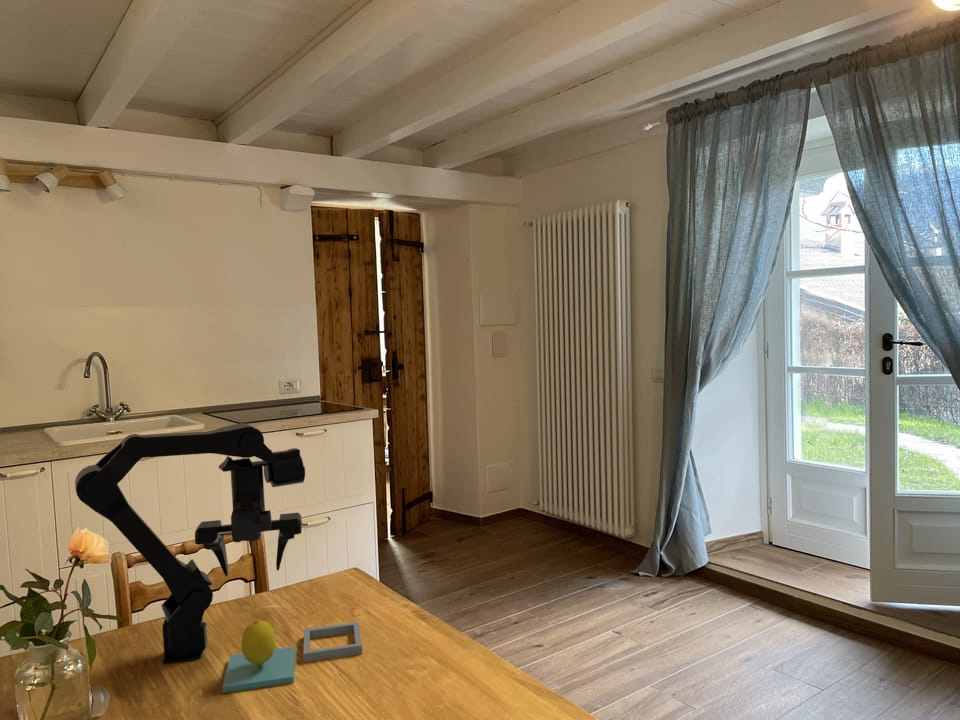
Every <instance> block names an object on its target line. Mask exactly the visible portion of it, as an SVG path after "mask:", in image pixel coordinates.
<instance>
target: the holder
mask: <svg viewBox="0 0 960 720" xmlns="http://www.w3.org/2000/svg"><path fill="white" fill-rule="evenodd" d="M303 631H304V633H303V663H307V662H308V663H309V662H316V661H321V660H329V659H335V658H342V657H349V656H350V657H351V656H357V655H363V644H362V637H361V630H360V624H359V621H355V622H349V623H341V624H335V625H334V624H333V625H326V626H319V627H318V626H317V627H312V628H304V630H303ZM347 634H353V637H354V643H352V644H347V645H346V644H344V645H338V646H331V647H323V648H317V649H311V639H317V638H324V637H330V636H332V637H333V636H339V635H347Z"/></svg>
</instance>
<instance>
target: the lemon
mask: <svg viewBox="0 0 960 720" xmlns="http://www.w3.org/2000/svg"><path fill="white" fill-rule="evenodd" d="M276 647H277V639H276V633H275V630H274V628H273V626H272V625H271V624H270V623H269V622H267V621H265V620H261V619H259V618H258V619H255V620H254V621H253V622H251V623H249V624H248V625H247V626H246V628H245V629H244V631H243V634H242V637H241V652H242V654H243V655H244V657H245V658H246V660H247V661H249V662H250V663H253V664H257V665H258V666H262V665H263V664H264V662H266V661H268V660H269V659H270V658H271V657H272V655H273V653H274V651H275V649H276Z"/></svg>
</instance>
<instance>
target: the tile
mask: <svg viewBox="0 0 960 720" xmlns="http://www.w3.org/2000/svg"><path fill="white" fill-rule="evenodd" d="M296 651H297V649H296V645H295V646H289V647H288V646H287V647H281V648H280V647H279V648H275V651H274V653H273V655H272V657H271V658H270V659H269V660H268V661H266V662H264V664H263V665H262V666H258V665H257V664H253V663H250V662H249V661H247V660H246V658H245V657H244V655H243V653H238V654H231V655H230V656H229V660H228V664H227V668H226V672H225V675H224V679H223V682H222V683H223V684H222V686H221V687H222V694H227V693H233V692H239V691H246V690H254V689H258V688H259V689H260V688H267V687H272V686H280V685H286V684H294V683H295V672H296V671H295V670H296V669H295V668H296V656H297V655H296Z"/></svg>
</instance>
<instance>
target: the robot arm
mask: <svg viewBox="0 0 960 720" xmlns="http://www.w3.org/2000/svg"><path fill="white" fill-rule="evenodd" d="M205 454H214V455H215V454H216V455H220V456H221V455H222V456H226V457H225V459H224V461H223V462H221V463H220V464H219V465H218V469H219V470H221V471H222V472H223V473H224V472H225V473H226V472H230V483H231V484H230V486H231V498H232V499H231V501H232V511H231V516H230V523H229V524H223V525H222V520H221V519H218V520H207V521H206V520H205V521H201V522H200V523H199V524H198V525H197V527H196V529H195V531H194V544H195V545H203V548H204V549H209V550H211V551H212V553H213V554H214V555H215V557H216V559H217V560H218V563H219V566H220V567H221V569H222V572H223V574H224V576H225V577H228V576H229V562H228V555H227V549H226V541H225V536H232V537H231V539H232V542H233V543H242V542H244V541H245V542H248V541H251V542H256V541H258V540H260V539H261V536H262V533H265V532H271V531H278V535H277V536H278V537H277V547H276V549H277V551H276V563H275V564H276V566H275V567H276V571H280V567H281V563H282V559H283V556H284V552H285V549H286V546H287V544H288V542H289V540H293V539H295V536H296V535H300V534H302V527H303V526H302V525H303V521H302V514H300V512H291V513H280V515H279V518H278V519H274V520H273V519H272V513H271V510H270V509H269V510H266V504H265V503H266V502H265V489H264V488H265V487H264V480H265V482H266V484H270V485H271V487H272V488H278V487H283V486H289V485H290V486H291V485H296V484H297V485H298V484H302V483H304V482H305V478H306V467H305V466H304V461H303V458H302V456H301V450H300V449H298V448H297V447H296V448H295V447H293V448H290V449H287V450H286V449H285V450H280V451H273V450H272V449H270V448H269V447H268V446H267V445H266V443H265V438H264V435H263V433H262V431H261V430H260V429H258V428H257V427H255V426H252V425H251V424H248V423H235V424H231V425H226V426H222V427H220V428H217V429H216V428H215V429H211V430H208V431H194V432H193V431H192V432H189V431H188V432H175V433H174V432H173V433H171V432H170V433H155V434H154V433H153V434H140V433H139V434H138V433H133V434H129V435H127V436H125V437H124V438H123V439H122V441H121V442H119V443H118V445H117V446H115V447H114V448H113V449H112V450H110V451H109V452H108V453H107V454H105V455H104V456H102V458H101V459H99V460H98V462H96V463H95V464H91V465H87V466H86V467H84V468H82V469H81V470H80V471H79V472H78V473H77V475H76V477H75V480H74V485H75V493H76V496H77V498H78V500H80V501H81V502H82V504H85V505H86V506H87V507H89V509H91V510H93V511H94V512H95V513H97V514H98V515H100V516H102V517H103V518H105V519H106V520H108V521H110V522H111V523H112V524H113V525H114V527H116V529H117V530H119V532H120V533H121V534H122V535H123V536H124V537H125V539H126V540H128V541H129V543H130V544H131V545H132V546H133V547H134V548H135V549H136V550H137V551H138V553H140V554H141V556H142V557H143V558H144V559H145V561H146V562H147V563H148V564H149V565H151V567H152V568H153V569H154V570H155V571H156V572H157V573H158V575H159V576H160V577H161V578H162V579H163V581H164V583H165V585H166V586H167V588H168V590H169V591H170V593H171V594H170V595H168V597H167V598H166V599H165V601H163V603H162V604H161V609H162V611H163V614H164V617H165V620H164V621H163V624H162V641H163V642H162V643H163V657H162V658H161V663H162V664H168V663H169V664H170V663H175V662H182V661H183V662H184V661H191V660H198V659H201V658H202V656H203V653H204V651H206V649H207V645H208V629H207V622H205V621H204V620H203V617H204V614H205V611H206V610H208V608H209V607H210V606H211V604H212V603H213V598H214V593H213V590H212V589H211V587H210V586H212V585H213V584H212V581H211V580H210V578H209V577H208V575H207V574H206V572H204V571H202V570H201V569H199V567H198V566H197V564H196V562H195V560H194V559H193V558H191V559H190V561H188V563H187V564H186V563H185V562H183V561H181V560H180V559H178V557H177V556H176V555H175V554H174V553H173V552H172V551H171V550H170V548H169V547H168V546H167V545H166V544H165V543H164V542H163V541H162V539H160V537H159V536H158V535H157V534H156V533H155V532H154V531H153V529H152V528H151V527H150V526H149V525H148V523H146V522H145V520H144V519H143V518H142V516H140V515H139V513H137V511H136V510H135V509H134V507H132V506H131V504H130V503H129V502H128V500H127V499H126V496H125V494H124V492H123V491H122V490H121V488H120V486H119V485H118V484H119V483H120V482H121V481H122V480H123V479H124V478H125V477H126V476H127V475H128V473H129V472H131V470H132V469H133V467H134V466H135V465H136V464H137V463H138V462H139V461H140V460H141V459H144V458H145V459H146V458H160V457H172V456H173V457H175V456H189V455H190V456H191V455H205ZM232 457H234V458H235V457H237V458H238V459H233V458H232ZM253 457H256V458H258V459H259V460H258V461H256V460H255V461H252V460H251V459H250V458H253Z"/></svg>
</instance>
